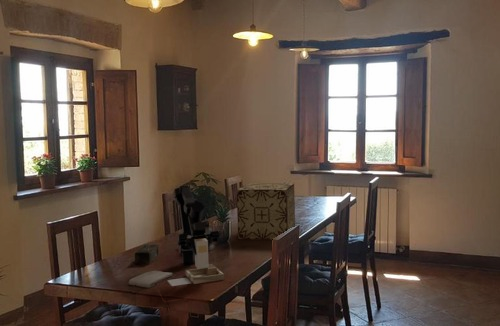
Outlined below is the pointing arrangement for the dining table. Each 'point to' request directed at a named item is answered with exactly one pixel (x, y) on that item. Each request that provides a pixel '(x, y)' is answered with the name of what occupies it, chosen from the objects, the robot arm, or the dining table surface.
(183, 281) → the coaster
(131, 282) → the washcloth
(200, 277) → the tray
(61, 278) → the dining table surface
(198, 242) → the cream box
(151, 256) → the beverage carton
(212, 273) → the walnut box
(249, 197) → the decorative box
